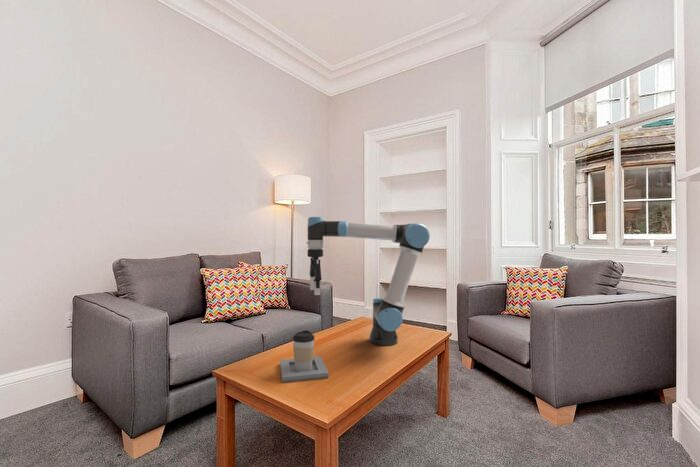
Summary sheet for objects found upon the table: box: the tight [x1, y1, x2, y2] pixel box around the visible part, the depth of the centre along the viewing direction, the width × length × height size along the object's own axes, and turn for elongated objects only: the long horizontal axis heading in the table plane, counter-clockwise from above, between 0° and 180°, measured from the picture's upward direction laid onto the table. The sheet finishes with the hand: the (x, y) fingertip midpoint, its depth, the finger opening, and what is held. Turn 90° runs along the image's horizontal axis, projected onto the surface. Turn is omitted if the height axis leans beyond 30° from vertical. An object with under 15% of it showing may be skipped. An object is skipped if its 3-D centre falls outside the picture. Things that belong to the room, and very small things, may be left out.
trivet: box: [279, 355, 329, 383], centre depth 138 cm, size 18×18×2 cm
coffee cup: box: [292, 330, 315, 372], centre depth 138 cm, size 9×9×15 cm
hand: (315, 292), depth 161 cm, fingers open, 13 cm apart
